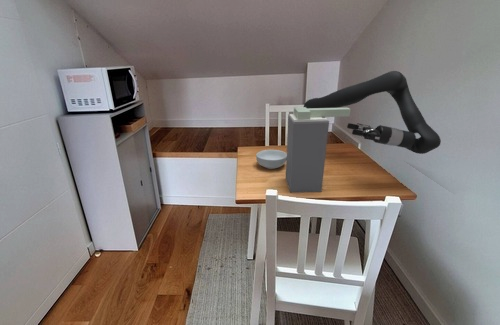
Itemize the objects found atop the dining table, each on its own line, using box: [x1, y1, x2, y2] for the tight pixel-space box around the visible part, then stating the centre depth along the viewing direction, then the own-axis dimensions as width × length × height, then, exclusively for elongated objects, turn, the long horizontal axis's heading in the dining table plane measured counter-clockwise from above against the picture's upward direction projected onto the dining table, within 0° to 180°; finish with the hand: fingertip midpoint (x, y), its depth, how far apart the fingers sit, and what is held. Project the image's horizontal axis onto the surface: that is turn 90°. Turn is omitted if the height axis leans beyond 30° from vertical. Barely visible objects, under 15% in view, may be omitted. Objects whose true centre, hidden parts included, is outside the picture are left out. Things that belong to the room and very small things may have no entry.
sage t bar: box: [293, 106, 352, 119], centre depth 100 cm, size 22×10×3 cm, turn 90°
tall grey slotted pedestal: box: [285, 113, 330, 194], centre depth 107 cm, size 14×14×32 cm
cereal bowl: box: [255, 149, 287, 170], centre depth 133 cm, size 17×17×7 cm
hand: (350, 128), depth 104 cm, fingers open, 8 cm apart
